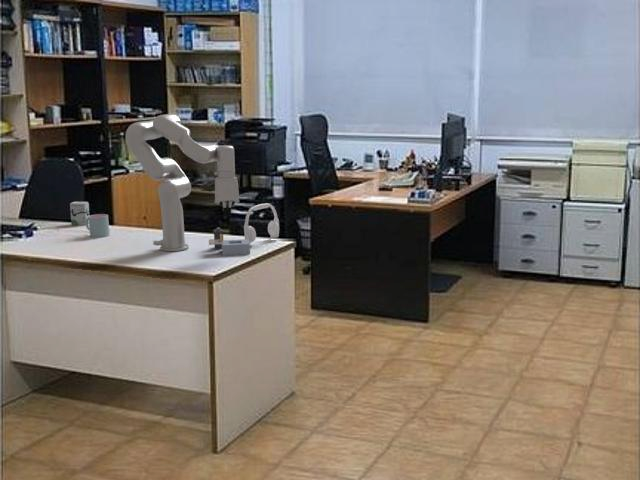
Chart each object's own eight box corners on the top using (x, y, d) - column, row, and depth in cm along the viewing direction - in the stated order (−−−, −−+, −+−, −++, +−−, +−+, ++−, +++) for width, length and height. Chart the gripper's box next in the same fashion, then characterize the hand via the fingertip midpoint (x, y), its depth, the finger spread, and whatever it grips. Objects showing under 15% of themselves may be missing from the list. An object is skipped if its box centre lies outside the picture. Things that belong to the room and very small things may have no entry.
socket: (222, 255, 357) (221, 245, 357) (221, 250, 367) (221, 240, 366) (250, 253, 359) (249, 243, 358) (248, 249, 369) (248, 239, 368)
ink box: (71, 225, 436) (69, 203, 434) (75, 223, 441) (73, 201, 439) (86, 225, 435) (84, 203, 432) (90, 223, 440) (88, 201, 437)
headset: (251, 246, 374) (249, 207, 370) (240, 244, 378) (239, 206, 375) (282, 239, 388) (281, 201, 385) (271, 237, 393) (270, 200, 389)
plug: (214, 249, 371) (213, 228, 369) (214, 247, 375) (213, 227, 373) (223, 248, 371) (222, 228, 369) (223, 246, 375) (222, 226, 373)
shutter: (208, 244, 357) (208, 237, 356) (208, 241, 364) (208, 233, 364) (222, 244, 358) (222, 236, 357) (222, 240, 365) (222, 233, 365)
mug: (113, 234, 408) (112, 215, 406) (99, 238, 400) (97, 218, 398) (94, 232, 415) (92, 212, 413) (79, 235, 407) (78, 215, 405)
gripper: (208, 176, 351) (210, 218, 355) (244, 175, 353) (245, 217, 357) (208, 173, 358) (210, 215, 362) (243, 172, 360) (244, 214, 364)
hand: (227, 216), depth 360 cm, fingers closed
